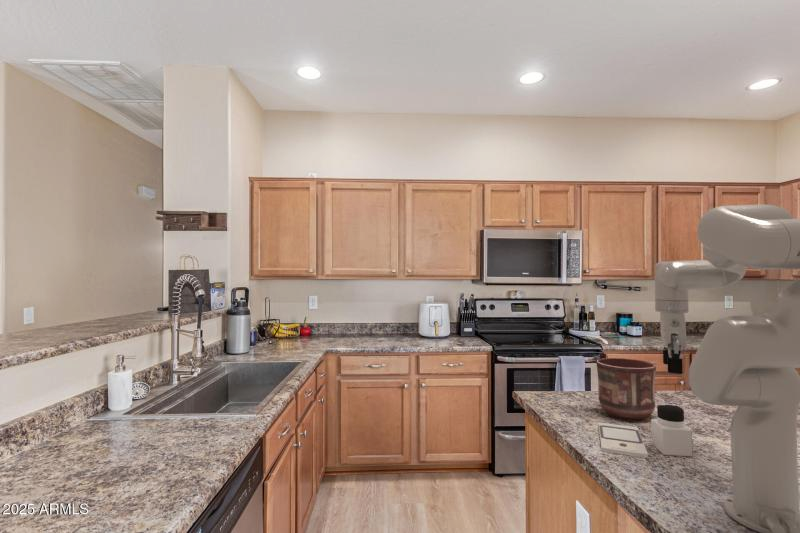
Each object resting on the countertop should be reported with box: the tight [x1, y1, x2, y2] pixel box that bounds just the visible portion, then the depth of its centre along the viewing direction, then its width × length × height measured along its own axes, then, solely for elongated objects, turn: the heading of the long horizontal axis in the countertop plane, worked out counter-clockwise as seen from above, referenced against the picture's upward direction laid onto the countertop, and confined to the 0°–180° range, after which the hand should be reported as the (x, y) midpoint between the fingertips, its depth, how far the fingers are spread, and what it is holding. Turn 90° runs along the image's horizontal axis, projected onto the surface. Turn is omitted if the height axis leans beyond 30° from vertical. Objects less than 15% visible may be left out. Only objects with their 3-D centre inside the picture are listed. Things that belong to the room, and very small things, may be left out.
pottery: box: [596, 357, 657, 422], centre depth 134 cm, size 18×18×18 cm
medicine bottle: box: [650, 403, 694, 457], centre depth 107 cm, size 7×7×12 cm
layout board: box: [597, 422, 649, 459], centre depth 113 cm, size 20×11×1 cm, turn 156°
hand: (672, 368), depth 107 cm, fingers open, 9 cm apart
